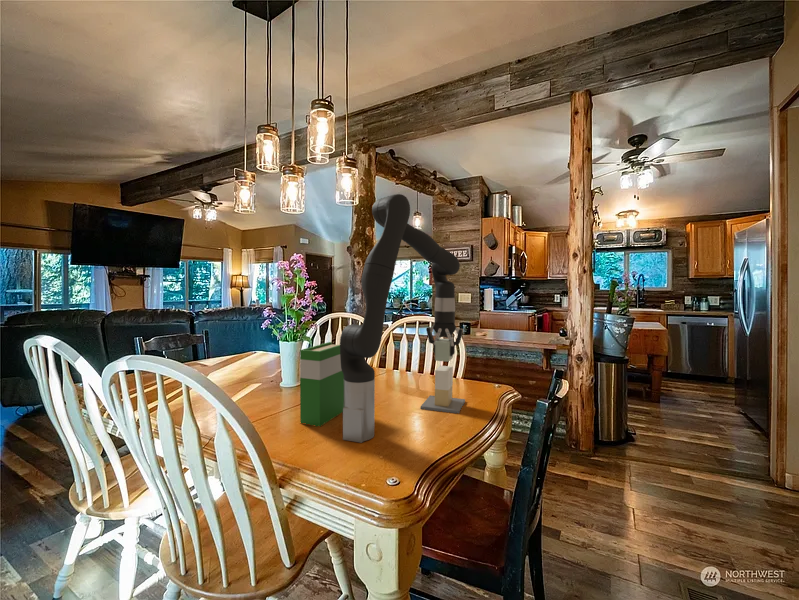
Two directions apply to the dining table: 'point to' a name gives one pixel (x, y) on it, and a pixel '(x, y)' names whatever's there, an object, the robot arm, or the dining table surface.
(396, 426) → the dining table surface
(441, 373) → the off white brick
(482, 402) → the dining table surface
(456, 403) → the board
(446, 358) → the sage brick
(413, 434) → the dining table surface
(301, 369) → the hardback book
